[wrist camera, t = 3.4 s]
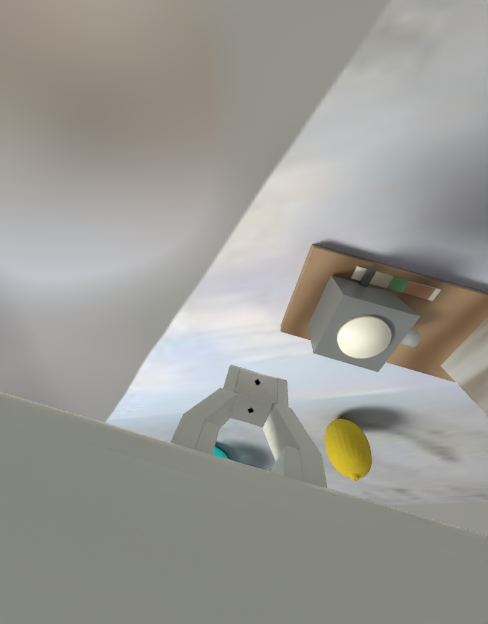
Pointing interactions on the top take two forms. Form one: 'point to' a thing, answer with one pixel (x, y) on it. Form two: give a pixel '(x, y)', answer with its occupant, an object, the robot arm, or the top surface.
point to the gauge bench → (421, 299)
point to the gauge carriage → (361, 323)
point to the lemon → (348, 449)
